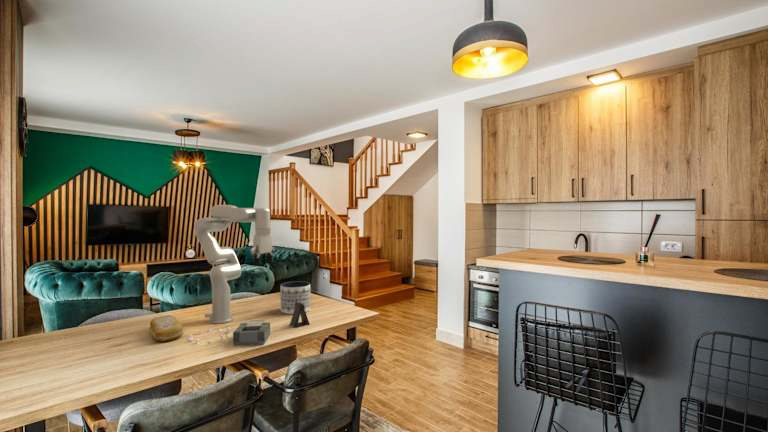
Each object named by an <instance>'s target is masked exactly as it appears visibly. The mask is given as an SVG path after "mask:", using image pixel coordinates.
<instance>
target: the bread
mask: <svg viewBox="0 0 768 432" xmlns="http://www.w3.org/2000/svg"><path fill="white" fill-rule="evenodd" d="M149 325H150V326H149V327H148V331H149V333H150V335H151V337H153V339H154V340H155V341H157V342H160V343H166V342H172V341H175V340H178V339H179V338H181V337H182V336H183V334H184V330H183V325H182V323H180V321H179V319H178V318H177V317H175V316H174V315H170V314H169V315H162V316H158V317H154V318H152V319H151V321H150V324H149Z"/></svg>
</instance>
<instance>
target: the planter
mask: <svg viewBox="0 0 768 432" xmlns="http://www.w3.org/2000/svg"><path fill="white" fill-rule="evenodd" d="M279 301H280V312H281V313H283V314H286V315H293V313H294V310H295V303H296V302H298V303H299V302H300V303H302V304H304V306H305V307H304V310H305V312H306V313H307V312H309V311H310V310H311V283H310V282H308V281H302V280H301V281H298V280H297V281H296V280H295V281H287V282H283V283H281V284H280V300H279Z"/></svg>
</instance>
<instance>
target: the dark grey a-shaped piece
mask: <svg viewBox="0 0 768 432" xmlns="http://www.w3.org/2000/svg"><path fill="white" fill-rule="evenodd" d="M304 307H305V306H304V304H302V303H300V302H299V303H298V302H296V303H295V310H294V313H293V314H292V316H291V319H290V322H289V326H291V327H292V328H300V327H305V325H306V326H310V321H309V318H308V315H307V312H305V310H304ZM300 319H301V321H299V320H300Z"/></svg>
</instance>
